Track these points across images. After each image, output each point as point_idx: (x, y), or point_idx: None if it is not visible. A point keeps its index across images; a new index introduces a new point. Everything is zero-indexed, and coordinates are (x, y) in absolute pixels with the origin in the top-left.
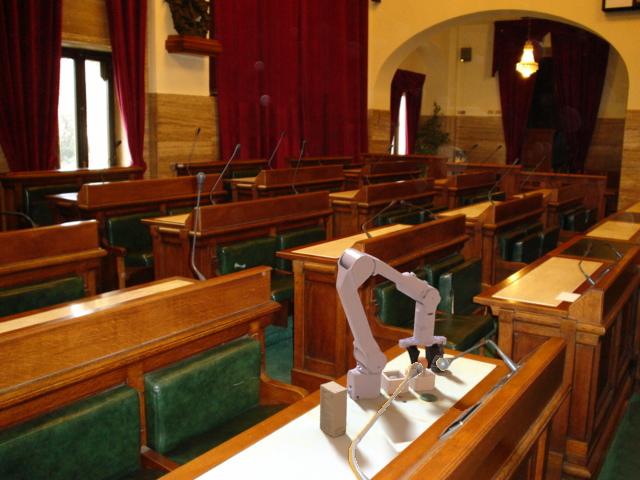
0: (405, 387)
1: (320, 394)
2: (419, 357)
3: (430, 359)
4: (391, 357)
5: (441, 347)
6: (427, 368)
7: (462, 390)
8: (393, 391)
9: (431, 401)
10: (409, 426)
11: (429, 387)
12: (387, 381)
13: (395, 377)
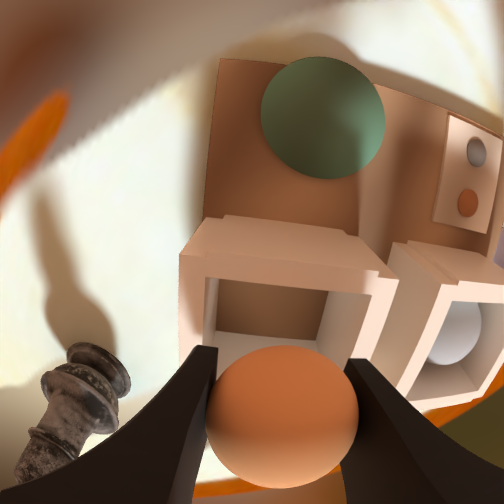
0: (431, 254)
1: None
2: (313, 478)
3: (190, 425)
4: (214, 485)
5: (31, 463)
6: (217, 357)
7: (49, 194)
8: (477, 257)
9: (341, 66)
10: (497, 18)
11: (247, 222)
12: None
13: (465, 336)
